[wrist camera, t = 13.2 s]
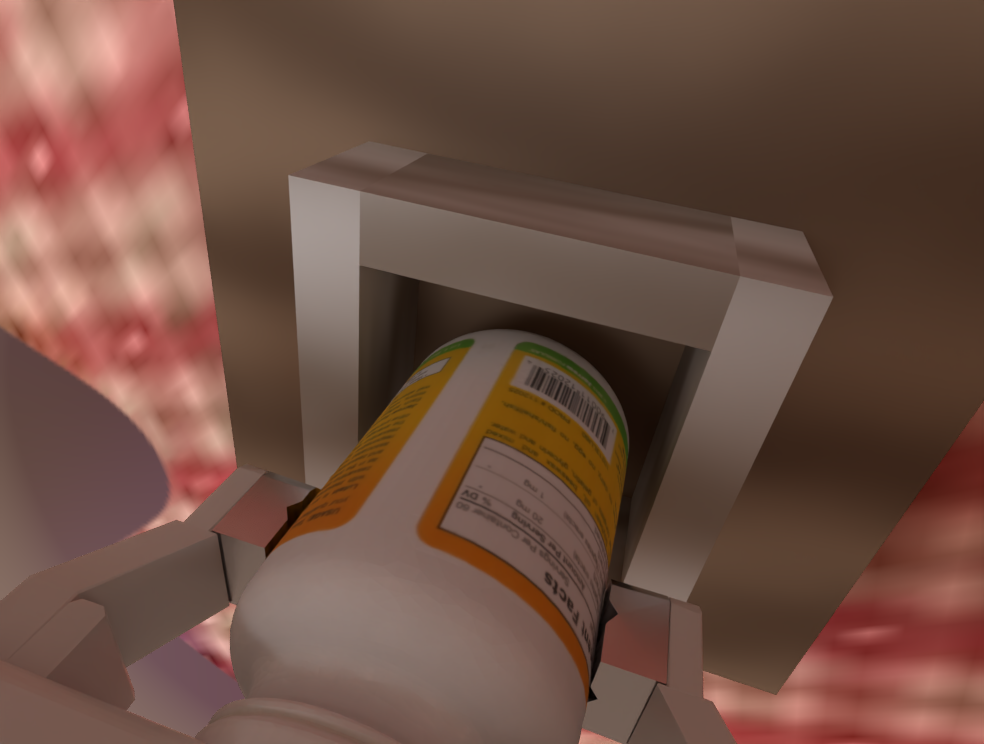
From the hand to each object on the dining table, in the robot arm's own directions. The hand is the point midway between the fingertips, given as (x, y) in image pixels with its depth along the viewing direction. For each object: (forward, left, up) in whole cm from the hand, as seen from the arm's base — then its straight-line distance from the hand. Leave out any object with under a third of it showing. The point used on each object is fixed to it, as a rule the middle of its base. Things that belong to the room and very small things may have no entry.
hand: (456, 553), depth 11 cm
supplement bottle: (0, 0, -4) cm, 4 cm away
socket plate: (0, 0, -8) cm, 8 cm away
